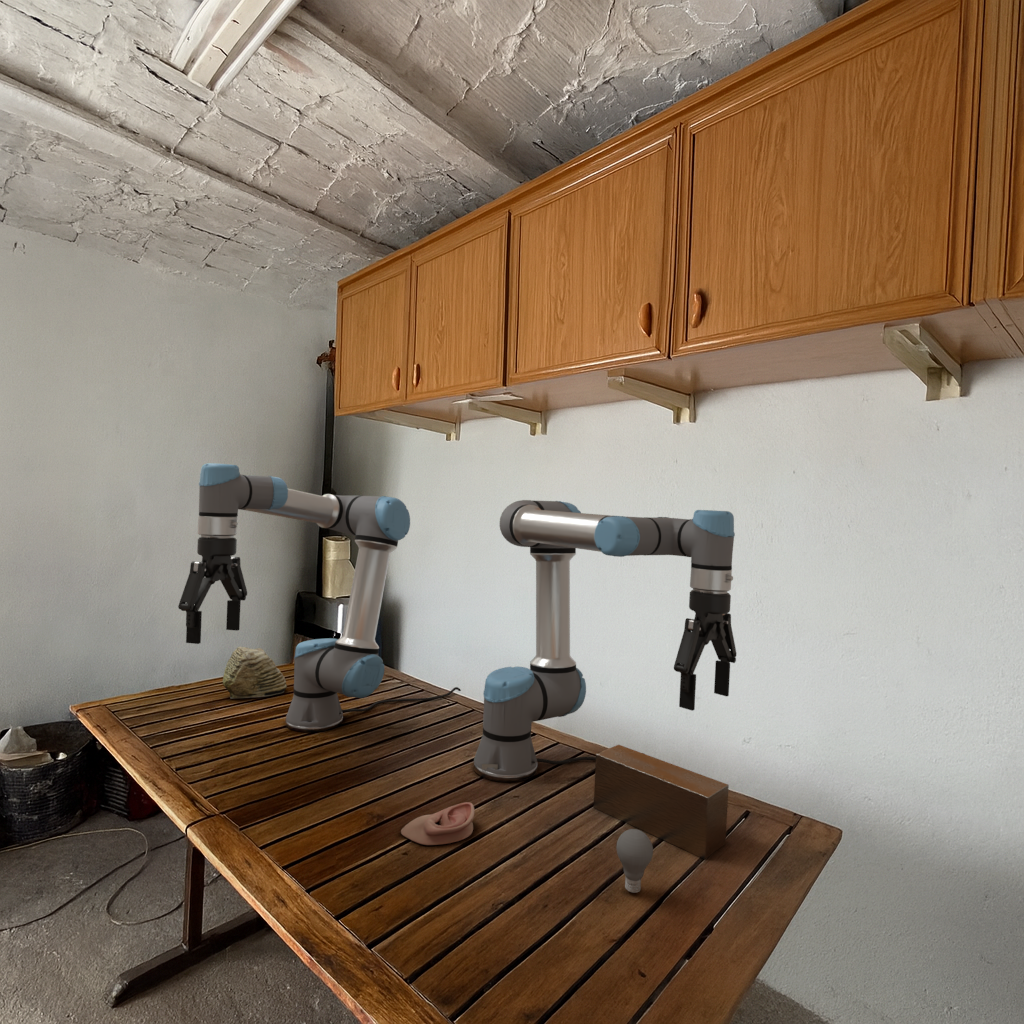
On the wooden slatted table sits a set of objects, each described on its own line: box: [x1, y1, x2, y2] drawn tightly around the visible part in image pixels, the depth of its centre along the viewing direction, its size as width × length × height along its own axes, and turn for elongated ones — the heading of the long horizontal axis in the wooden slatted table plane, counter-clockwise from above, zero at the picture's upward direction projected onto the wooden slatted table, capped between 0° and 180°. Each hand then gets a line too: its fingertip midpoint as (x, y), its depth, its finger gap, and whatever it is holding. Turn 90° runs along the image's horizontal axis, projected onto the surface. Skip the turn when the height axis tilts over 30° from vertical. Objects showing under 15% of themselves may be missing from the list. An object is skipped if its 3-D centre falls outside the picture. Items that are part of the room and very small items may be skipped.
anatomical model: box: [400, 801, 476, 846], centre depth 122 cm, size 13×4×12 cm
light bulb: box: [615, 828, 654, 894], centre depth 106 cm, size 6×6×10 cm
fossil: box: [222, 646, 288, 699], centre depth 198 cm, size 9×18×15 cm, turn 132°
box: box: [593, 744, 730, 860], centre depth 128 cm, size 26×8×12 cm, turn 45°
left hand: (214, 636), depth 135 cm, fingers open, 13 cm apart
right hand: (704, 701), depth 121 cm, fingers open, 13 cm apart
